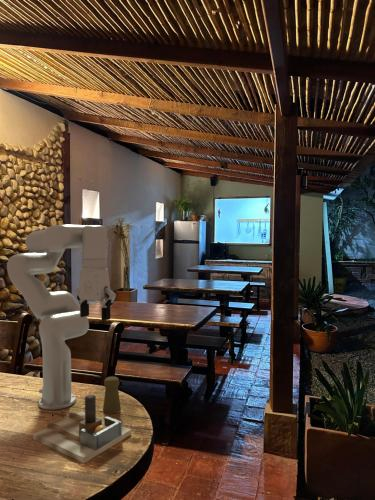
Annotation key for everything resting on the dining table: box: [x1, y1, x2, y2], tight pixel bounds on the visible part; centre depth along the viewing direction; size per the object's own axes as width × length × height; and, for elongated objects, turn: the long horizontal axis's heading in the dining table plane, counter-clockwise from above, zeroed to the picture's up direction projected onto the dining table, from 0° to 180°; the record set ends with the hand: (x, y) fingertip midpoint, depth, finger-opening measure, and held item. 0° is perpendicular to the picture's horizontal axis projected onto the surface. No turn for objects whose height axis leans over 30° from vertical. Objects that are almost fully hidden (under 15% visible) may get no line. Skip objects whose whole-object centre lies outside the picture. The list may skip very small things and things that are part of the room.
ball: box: [94, 425, 107, 434], centre depth 111 cm, size 4×4×4 cm
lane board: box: [32, 410, 132, 464], centre depth 115 cm, size 22×18×3 cm
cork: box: [102, 376, 122, 414], centre depth 134 cm, size 6×6×11 cm
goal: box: [80, 416, 122, 451], centre depth 111 cm, size 6×10×4 cm, turn 146°
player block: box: [79, 394, 103, 434], centre depth 113 cm, size 4×5×11 cm
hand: (95, 318), depth 124 cm, fingers open, 9 cm apart
